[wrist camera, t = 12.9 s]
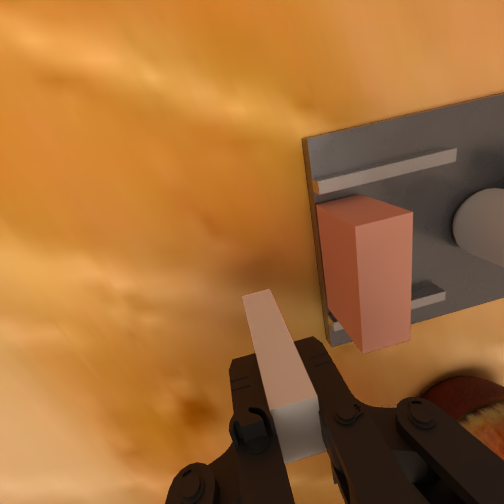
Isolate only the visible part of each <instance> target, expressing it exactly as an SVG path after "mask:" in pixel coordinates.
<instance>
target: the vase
mask: <svg viewBox="0 0 504 504" xmlns="http://www.w3.org/2000/svg"><path fill="white" fill-rule="evenodd" d="M421 398H423V399H426V400H429V401H430V402H432V403H434V404H435V405H437V406H438V407H439V408H441V409H442V410H443V411H444V412H446V413H447V414H448V415H449V416H450V417H452V418H453V419H454V420H455V421H456V422H458V423H459V424H460V425H461V426H463V427H464V428H465V429H466V430H467V431H469V432H470V433H471V434H472V435H474V436H475V437H476V438H477V439H478V440H480V441H481V442H482V443H483V444H485V445H486V446H487V447H488V448H489V449H491V450H492V451H493V452H494V453H495V454H497V455H498V456H499V457H500V458H502V459H503V460H504V387H503V386H501V385H498V384H496V383H494V382H491V381H488V380H485V379H481V378H477V377H467V376H463V377H454V378H450V379H447V380H445V381H442V382H440V383H439V384H437V385H435V386H434V387H432V388H431V389H430V390H429V391H427V392H426V393H425V394H424V395H423V396H422V397H421Z"/></svg>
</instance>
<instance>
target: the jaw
mask: <svg viewBox="0 0 504 504" xmlns="http://www.w3.org/2000/svg"><path fill="white" fill-rule="evenodd" d="M316 209H317V217H318V226H319V234H320V243H321V252H322V260H323V269H324V278H325V286H326V295H327V304H328V309H329V310H330V311H331V313H332V314H333V315H334V317H335V318H336V319H337V320H338V322H339V323H340V324H341V326H342V327H343V328H344V330H345V331H346V332H347V334H348V335H349V336H350V338H351V339H352V340H353V342H354V343H355V344H356V346H357V347H358V348H359V350H360V351H361V352H362V354H365V353H369V352H372V351H375V350H379V349H382V348H386V347H389V346H392V345H396V344H399V343H403V342H406V341H409V340H410V328H411V282H412V237H413V212H412V211H409V210H406V209H403V208H400V207H397V206H394V205H391V204H388V203H385V202H382V201H379V200H377V199H374V198H371V197H368V196H365V195H362V194H358V195H354V196H350V197H346V198H342V199H337V200H333V201H329V202H325V203H321V204H317V205H316Z"/></svg>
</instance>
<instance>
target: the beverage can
mask: <svg viewBox="0 0 504 504" xmlns="http://www.w3.org/2000/svg"><path fill="white" fill-rule="evenodd" d="M452 227H453V234H454V237H455V240H456V243H457V244H458V246H459V247H460V248H461V249H462V250H464V251H466V252H468V253H471V254H473V255H475V256H478V257H480V258H482V259H485V260H487V261H489V262H492V263H494V264H497V265H499V266H501V267H504V189H499V188H490V189H485V190H482V191H479V192H477V193H475V194H474V195H472V196H471V197H469V198H468V199H466V201H465V202H464V203H463V204H462V205H461V206H460V207H459V209H458V210H457V212H456V214H455V216H454V219H453V225H452Z"/></svg>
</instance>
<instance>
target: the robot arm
mask: <svg viewBox="0 0 504 504" xmlns="http://www.w3.org/2000/svg"><path fill="white" fill-rule="evenodd" d="M242 300H243V304H244V309H245V313H246V317H247V321H248V325H249V329H250V333H251V337H252V341H253V345H254V349H255V353H254V354H251V355H247V356H243V357H240V358H236V359H233V360H232V363H231V365H230V368H229V376H230V385H231V392H232V402H233V410H234V414H233V416H232V418H231V420H230V424H229V432H230V435H231V438H232V441H233V442H232V444H231V446H230V447H229V448H228V450H227V451H226V452H225V453H224V454H223V455H221V456H220V457H219V458H217V459H216V460H215V461H213V462H212V463H210V464H209V465H206V464H203V463H198V462H197V463H193V464H189V465H188V466H186V467H185V468H183V469H182V470H180V472H179V473H178V474H177V475H176V477H175V478H174V479H173V482H172V484H171V486H170V488H169V492H168V495H167V499H166V502H165V504H295V502H294V498H293V494H292V491H291V487H290V483H289V479H288V475H287V471H286V467H285V464H287V463H290V462H293V461H296V460H300V459H303V458H306V457H309V456H313V455H316V454H319V453H322V452H326V450H325V447H326V449H327V452H328V454H329V457H330V460H331V467H332V474H333V479H334V484H336V483H338V486H339V489H340V491H341V494H342V496H343V499H344V502H345V504H504V460H503V459H502V458H500V457H499V456H498V455H497V454H495V453H494V452H493V451H492V450H491V449H489V448H488V447H487V446H486V445H485V444H483V443H482V442H481V441H480V440H478V439H477V438H476V437H475V436H474V435H472V434H471V433H470V432H469V431H467V430H466V429H465V428H464V427H463V426H461V425H460V424H459V423H458V422H456V421H455V420H454V419H453V418H452V417H450V416H449V415H448V414H447V413H446V412H444V411H443V410H442V409H441V408H439V407H438V406H437V405H435V404H434V403H432V402H430V401H429V400H426V399H423V398H420V397H408V398H405V399H402V400H401V401H400V402H399V403H398V404H397V408H379V407H372V406H369V405H366V404H364V403H362V402H360V401H359V400H357V399H356V398H355V397H354V396H353V395H352V393H351V392H350V390H349V389H348V387H347V385H346V383H345V382H344V380H343V378H342V376H341V375H340V373H339V371H338V369H337V368H336V366H335V364H334V363H333V361H332V359H331V357H330V356H329V355H328V352H327V350H326V349H325V347H324V345H323V343H321V342H320V341H319V340H317V339H316V338H315V337H313V336H312V337H309V338H305V339H301V340H298V341H294V342H293V340H292V338H291V335H290V333H289V331H288V329H287V326H286V324H285V322H284V319H283V317H282V315H281V313H280V310H279V308H278V306H277V304H276V301H275V299H274V297H273V295H272V292H271V290H270V289H266V290H262V291H259V292H255V293H251V294H247V295H243V296H242Z"/></svg>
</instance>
